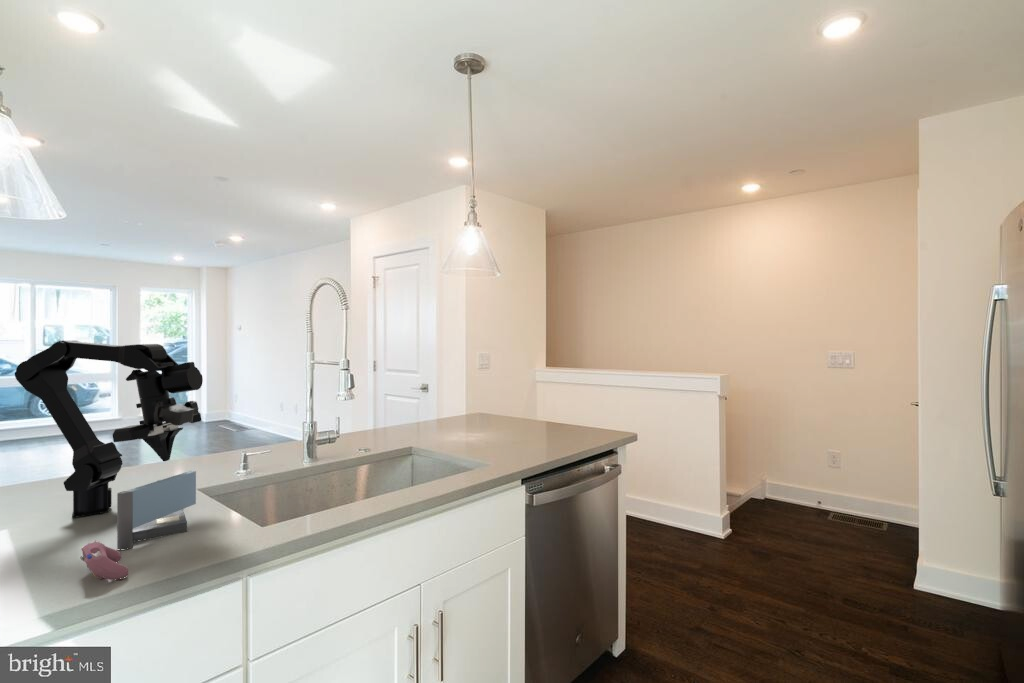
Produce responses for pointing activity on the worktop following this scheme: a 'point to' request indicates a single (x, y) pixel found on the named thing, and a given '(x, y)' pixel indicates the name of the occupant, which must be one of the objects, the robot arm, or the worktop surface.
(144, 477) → the worktop surface
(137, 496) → the light blue flat slab
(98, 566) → the video game controller
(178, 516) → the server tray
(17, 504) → the worktop surface
